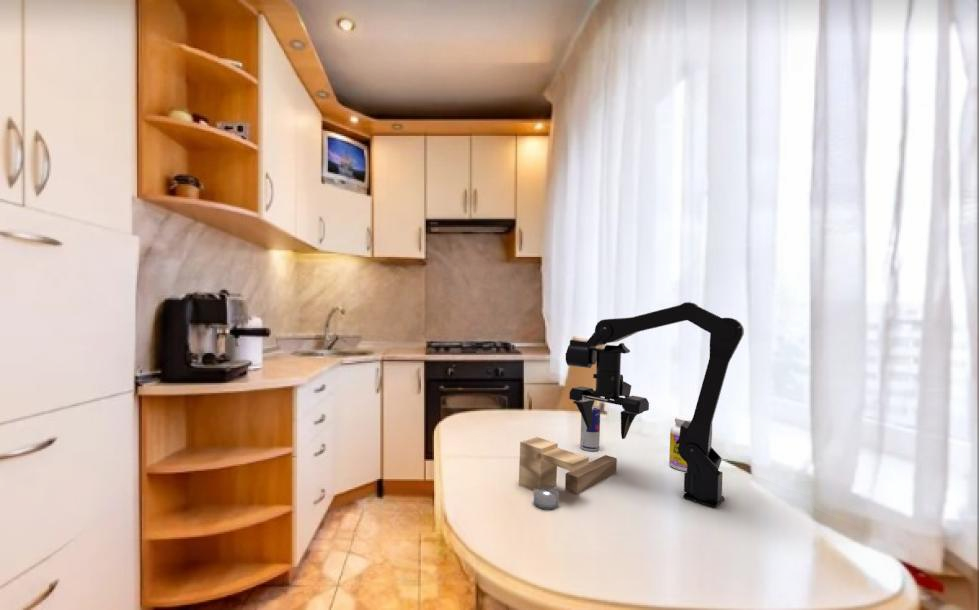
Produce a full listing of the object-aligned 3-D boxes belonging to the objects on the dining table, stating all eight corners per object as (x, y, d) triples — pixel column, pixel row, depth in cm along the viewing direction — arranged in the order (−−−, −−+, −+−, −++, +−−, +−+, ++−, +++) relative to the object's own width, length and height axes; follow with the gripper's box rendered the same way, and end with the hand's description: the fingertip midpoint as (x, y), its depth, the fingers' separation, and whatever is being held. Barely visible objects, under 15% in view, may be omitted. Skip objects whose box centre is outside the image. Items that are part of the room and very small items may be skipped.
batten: (616, 474, 102) (616, 458, 102) (576, 495, 89) (577, 477, 89) (605, 470, 104) (605, 454, 104) (565, 491, 91) (565, 473, 91)
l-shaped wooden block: (587, 497, 88) (588, 452, 88) (571, 506, 83) (572, 459, 84) (535, 477, 98) (536, 437, 98) (518, 484, 93) (520, 442, 93)
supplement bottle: (668, 469, 106) (669, 418, 106) (670, 461, 112) (671, 413, 112) (697, 474, 103) (698, 422, 103) (697, 466, 109) (699, 417, 109)
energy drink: (601, 452, 118) (602, 409, 118) (582, 451, 118) (583, 408, 118) (596, 446, 123) (597, 405, 123) (578, 445, 123) (579, 404, 123)
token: (563, 505, 84) (564, 490, 84) (548, 513, 80) (548, 497, 81) (544, 497, 88) (544, 482, 88) (528, 504, 84) (529, 489, 84)
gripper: (659, 372, 101) (657, 437, 101) (592, 363, 114) (589, 420, 114) (639, 376, 93) (636, 446, 93) (569, 366, 106) (566, 427, 106)
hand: (605, 434), depth 101 cm, fingers open, 9 cm apart
